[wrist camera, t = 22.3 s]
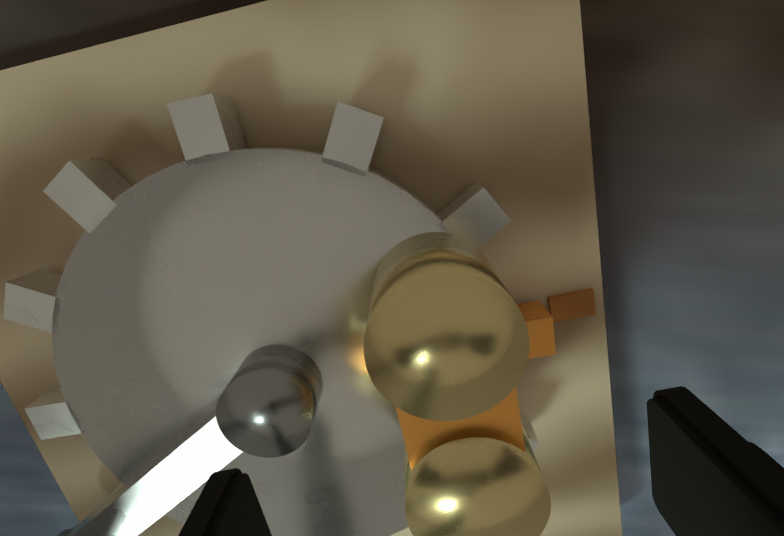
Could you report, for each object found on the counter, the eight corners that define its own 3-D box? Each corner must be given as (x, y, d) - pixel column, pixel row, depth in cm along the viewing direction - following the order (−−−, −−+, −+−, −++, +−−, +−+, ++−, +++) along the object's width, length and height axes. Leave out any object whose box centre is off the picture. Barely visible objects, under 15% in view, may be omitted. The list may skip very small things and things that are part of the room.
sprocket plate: (608, 513, 21) (624, 544, 20) (145, 581, 23) (126, 615, 22) (556, -60, 14) (575, -83, 13) (-103, 111, 16) (-159, 110, 15)
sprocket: (635, 206, 15) (799, 263, 9) (424, 617, 21) (434, 818, 15) (64, 4, 13) (-222, -95, 7) (19, 512, 20) (-155, 688, 14)
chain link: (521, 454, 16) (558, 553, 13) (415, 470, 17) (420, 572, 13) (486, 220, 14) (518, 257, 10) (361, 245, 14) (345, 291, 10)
